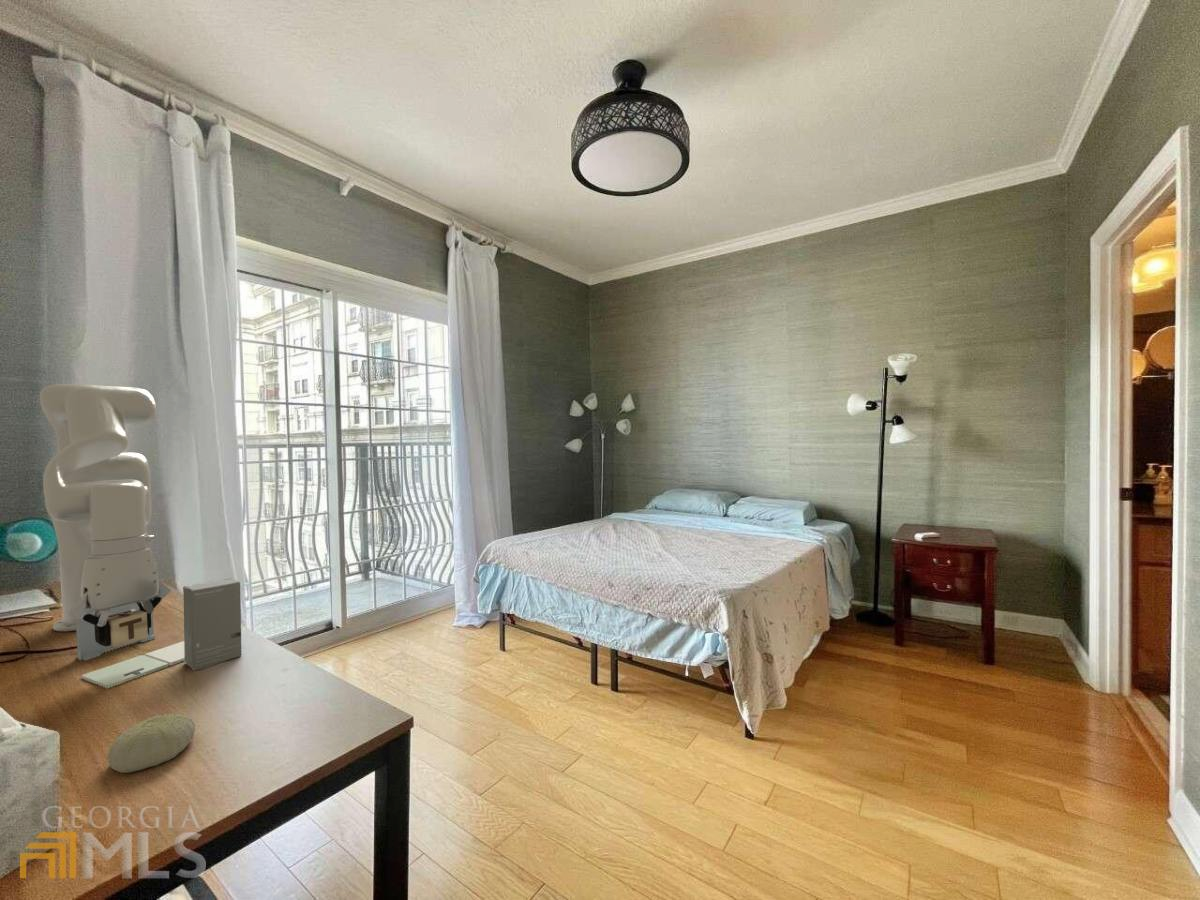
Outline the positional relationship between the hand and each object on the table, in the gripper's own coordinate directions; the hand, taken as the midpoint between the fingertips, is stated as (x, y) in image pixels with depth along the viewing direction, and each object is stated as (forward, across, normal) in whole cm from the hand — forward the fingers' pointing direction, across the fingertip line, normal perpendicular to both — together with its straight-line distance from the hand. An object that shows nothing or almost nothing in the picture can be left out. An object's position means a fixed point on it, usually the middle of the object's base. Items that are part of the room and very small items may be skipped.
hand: (124, 637), depth 92 cm
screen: (+7, -5, -17) cm, 19 cm away
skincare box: (+7, -10, +10) cm, 16 cm away
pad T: (+7, 0, 0) cm, 7 cm away
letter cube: (+1, 0, 0) cm, 1 cm away
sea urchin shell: (+8, +11, +36) cm, 38 cm away
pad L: (+7, -10, 0) cm, 12 cm away
